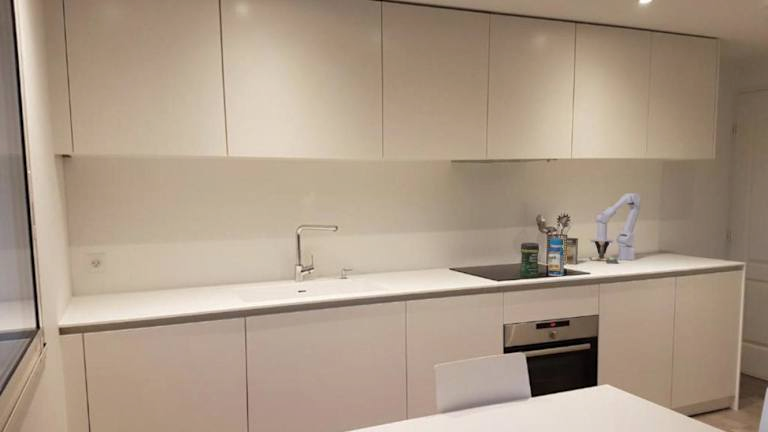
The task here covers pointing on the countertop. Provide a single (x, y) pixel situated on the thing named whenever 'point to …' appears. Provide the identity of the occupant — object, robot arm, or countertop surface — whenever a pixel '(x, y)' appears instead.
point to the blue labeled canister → (556, 258)
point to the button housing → (612, 261)
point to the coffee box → (572, 250)
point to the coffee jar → (529, 260)
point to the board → (597, 259)
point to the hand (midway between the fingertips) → (601, 253)
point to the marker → (601, 250)
